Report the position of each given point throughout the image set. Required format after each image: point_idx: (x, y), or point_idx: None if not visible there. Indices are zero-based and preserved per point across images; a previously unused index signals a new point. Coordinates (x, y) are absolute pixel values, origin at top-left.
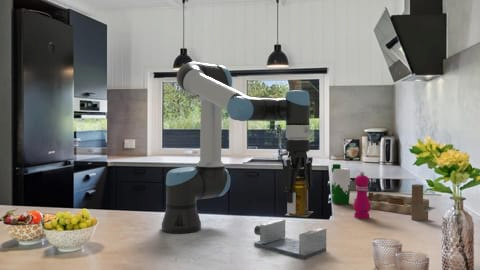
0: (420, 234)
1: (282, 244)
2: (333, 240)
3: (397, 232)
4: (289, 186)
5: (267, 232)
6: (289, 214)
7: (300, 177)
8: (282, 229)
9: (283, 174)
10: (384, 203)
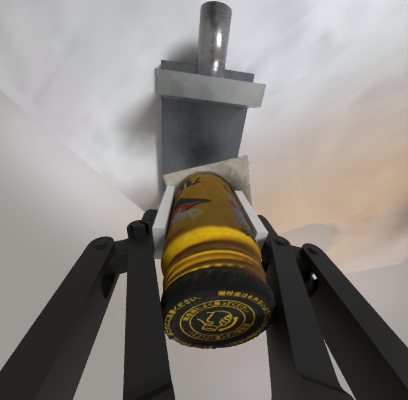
0: (368, 257)
1: (193, 134)
2: (293, 184)
3: (375, 236)
4: (102, 289)
5: (172, 97)
6: (181, 182)
7: (232, 326)
8: (239, 106)
9: (12, 367)
10: None
